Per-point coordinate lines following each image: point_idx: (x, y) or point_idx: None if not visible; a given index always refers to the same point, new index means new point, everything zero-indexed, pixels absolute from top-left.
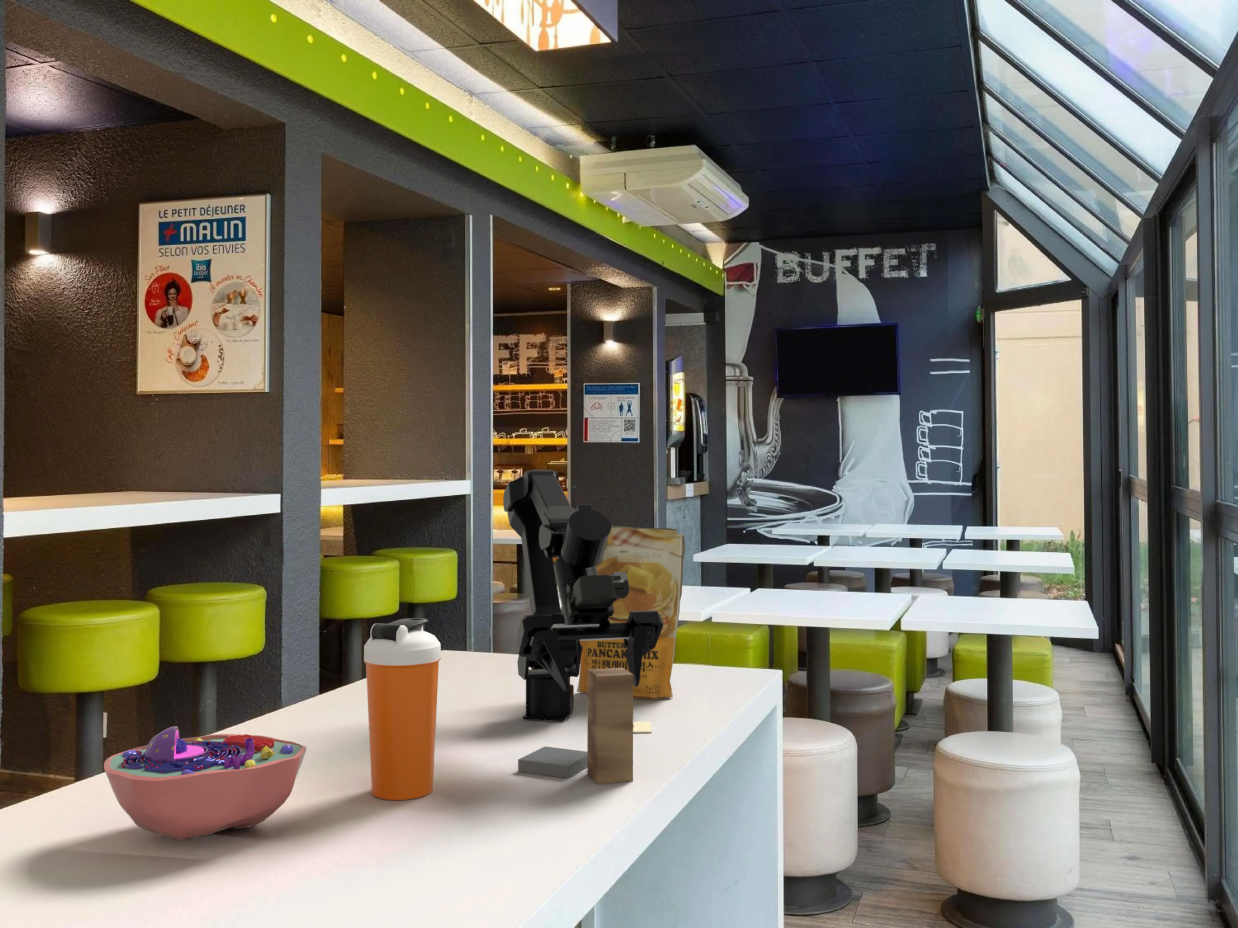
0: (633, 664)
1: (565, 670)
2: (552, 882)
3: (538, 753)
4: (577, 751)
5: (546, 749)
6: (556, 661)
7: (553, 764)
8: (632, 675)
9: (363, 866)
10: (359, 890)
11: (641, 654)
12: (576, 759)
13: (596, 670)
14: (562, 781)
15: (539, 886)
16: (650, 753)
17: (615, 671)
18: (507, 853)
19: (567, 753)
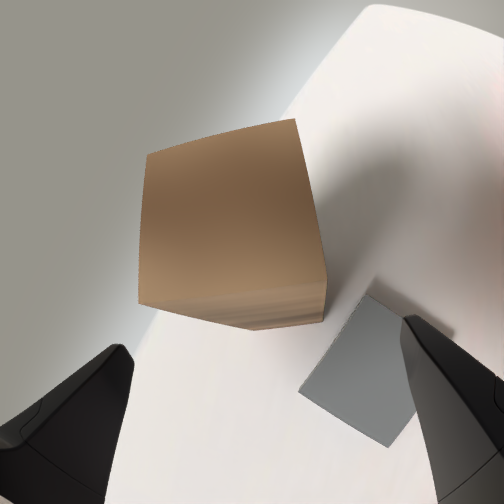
0: (84, 398)
1: (435, 357)
2: (361, 23)
3: (411, 395)
4: (329, 403)
5: (390, 425)
6: (493, 380)
7: (392, 311)
8: (152, 155)
9: (497, 69)
10: (477, 43)
11: (33, 406)
12: (342, 340)
13: (280, 248)
14: (373, 279)
15: (369, 21)
16: (178, 428)
17: (192, 210)
18: (407, 58)
19: (354, 389)
